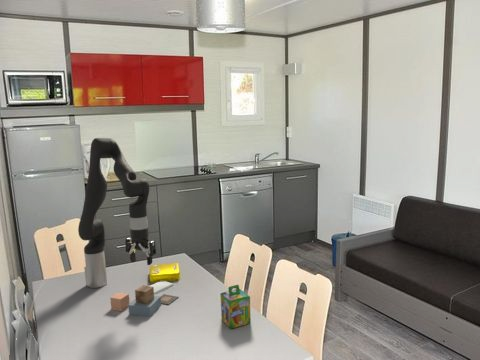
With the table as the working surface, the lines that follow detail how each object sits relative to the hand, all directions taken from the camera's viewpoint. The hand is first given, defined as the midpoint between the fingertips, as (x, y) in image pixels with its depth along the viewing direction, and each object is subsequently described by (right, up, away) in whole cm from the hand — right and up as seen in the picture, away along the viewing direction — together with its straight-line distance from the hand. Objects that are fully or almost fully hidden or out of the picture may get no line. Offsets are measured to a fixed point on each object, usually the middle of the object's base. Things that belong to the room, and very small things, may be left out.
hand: (141, 263), depth 178 cm
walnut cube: (+1, -16, +1) cm, 16 cm away
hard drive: (+3, -17, +23) cm, 29 cm away
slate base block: (+1, -21, +1) cm, 21 cm away
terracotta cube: (-10, -20, +4) cm, 23 cm away
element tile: (+3, -15, +38) cm, 41 cm away
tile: (+9, -19, +10) cm, 23 cm away
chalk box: (+41, -21, -12) cm, 47 cm away
